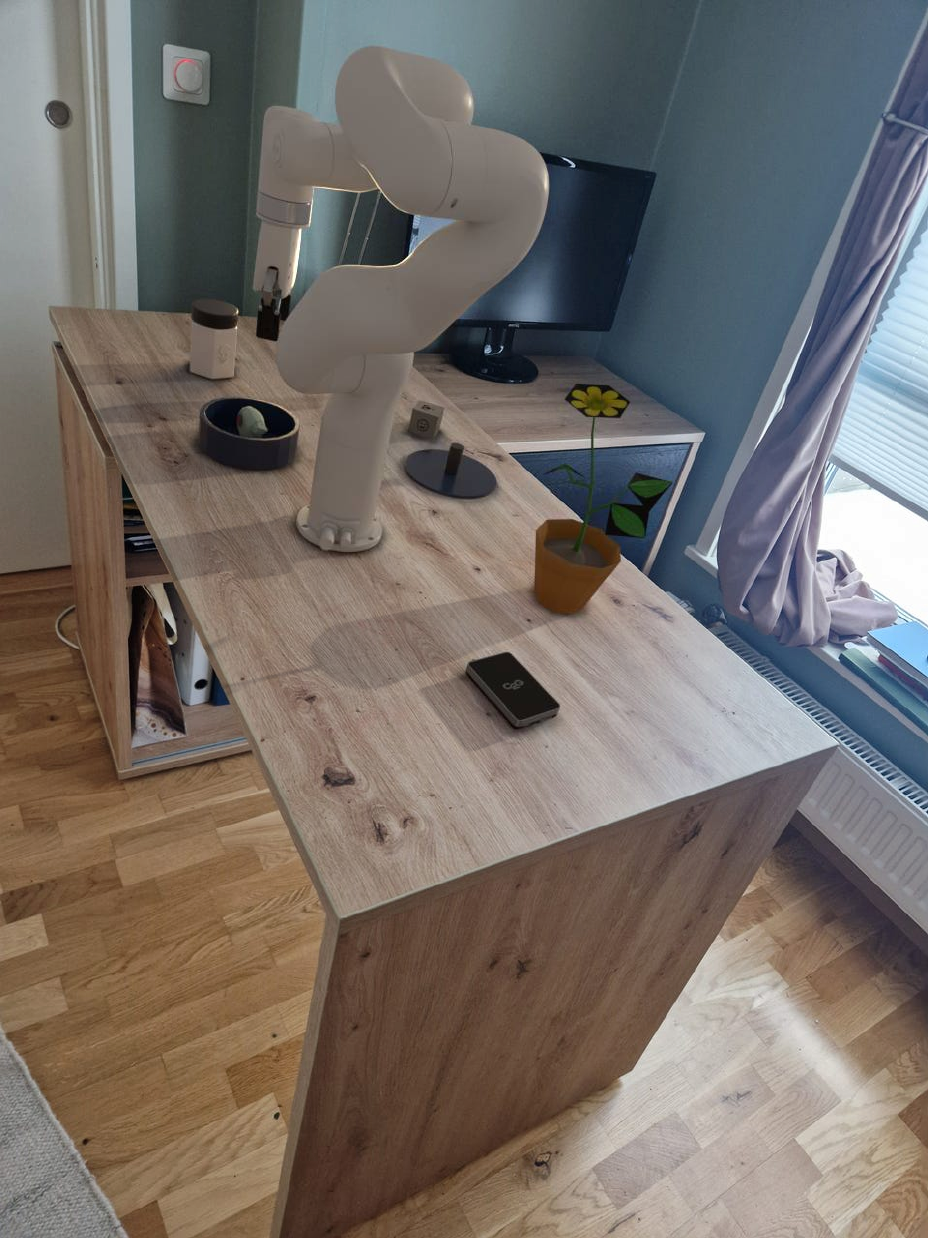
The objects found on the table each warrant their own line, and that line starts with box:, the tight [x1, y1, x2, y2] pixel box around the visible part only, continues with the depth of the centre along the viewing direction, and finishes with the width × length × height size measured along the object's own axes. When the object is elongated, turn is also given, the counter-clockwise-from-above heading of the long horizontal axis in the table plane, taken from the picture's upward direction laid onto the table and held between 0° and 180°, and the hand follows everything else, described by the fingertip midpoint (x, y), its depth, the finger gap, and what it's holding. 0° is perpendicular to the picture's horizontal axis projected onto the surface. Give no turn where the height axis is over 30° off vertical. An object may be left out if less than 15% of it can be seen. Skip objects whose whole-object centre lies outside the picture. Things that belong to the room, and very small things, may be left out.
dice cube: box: [407, 399, 445, 440], centre depth 154 cm, size 5×5×5 cm
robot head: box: [237, 406, 268, 439], centre depth 133 cm, size 8×4×7 cm, turn 32°
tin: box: [198, 396, 301, 472], centre depth 134 cm, size 15×15×5 cm
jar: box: [189, 298, 239, 380], centre depth 152 cm, size 9×8×12 cm
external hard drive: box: [464, 651, 561, 731], centre depth 100 cm, size 7×11×2 cm, turn 35°
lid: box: [403, 442, 498, 500], centre depth 142 cm, size 16×16×6 cm
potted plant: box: [533, 383, 674, 616], centre depth 112 cm, size 18×19×30 cm
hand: (272, 328), depth 126 cm, fingers open, 9 cm apart
